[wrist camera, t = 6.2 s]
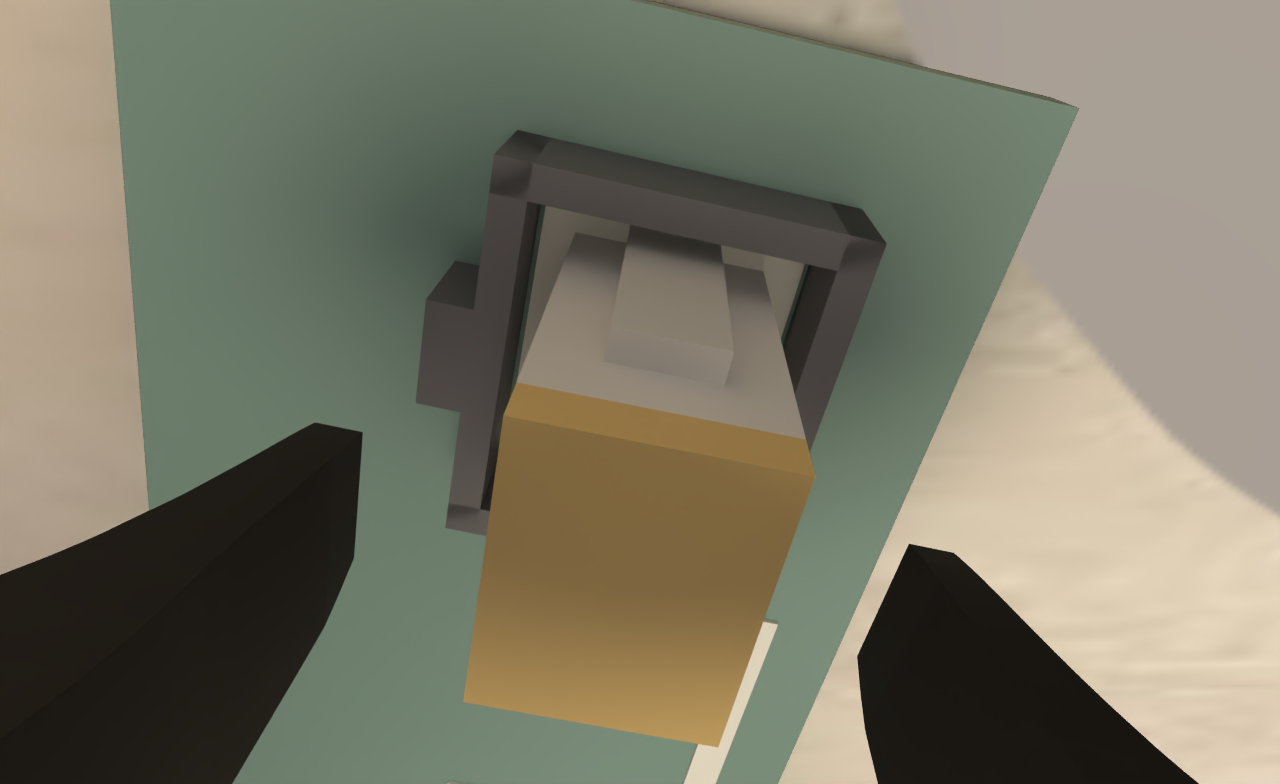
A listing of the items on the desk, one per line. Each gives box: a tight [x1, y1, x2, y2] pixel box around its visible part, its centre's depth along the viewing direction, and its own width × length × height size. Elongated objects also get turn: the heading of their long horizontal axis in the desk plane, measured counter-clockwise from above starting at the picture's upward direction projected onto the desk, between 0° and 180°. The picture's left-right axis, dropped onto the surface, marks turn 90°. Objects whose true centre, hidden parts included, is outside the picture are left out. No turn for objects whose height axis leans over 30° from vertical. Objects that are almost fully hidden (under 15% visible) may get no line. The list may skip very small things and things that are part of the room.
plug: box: [463, 225, 815, 747], centre depth 13 cm, size 5×4×7 cm
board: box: [110, 0, 1079, 784], centre depth 18 cm, size 22×16×3 cm
